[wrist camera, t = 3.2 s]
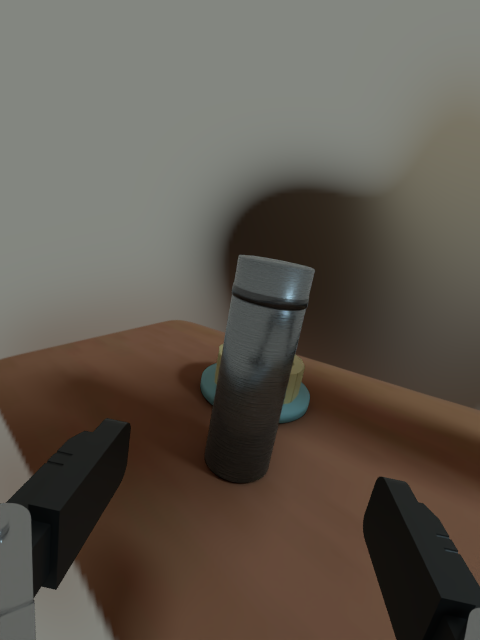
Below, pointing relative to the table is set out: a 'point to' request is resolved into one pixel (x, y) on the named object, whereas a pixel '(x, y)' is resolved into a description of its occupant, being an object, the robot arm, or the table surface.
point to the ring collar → (294, 397)
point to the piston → (256, 365)
